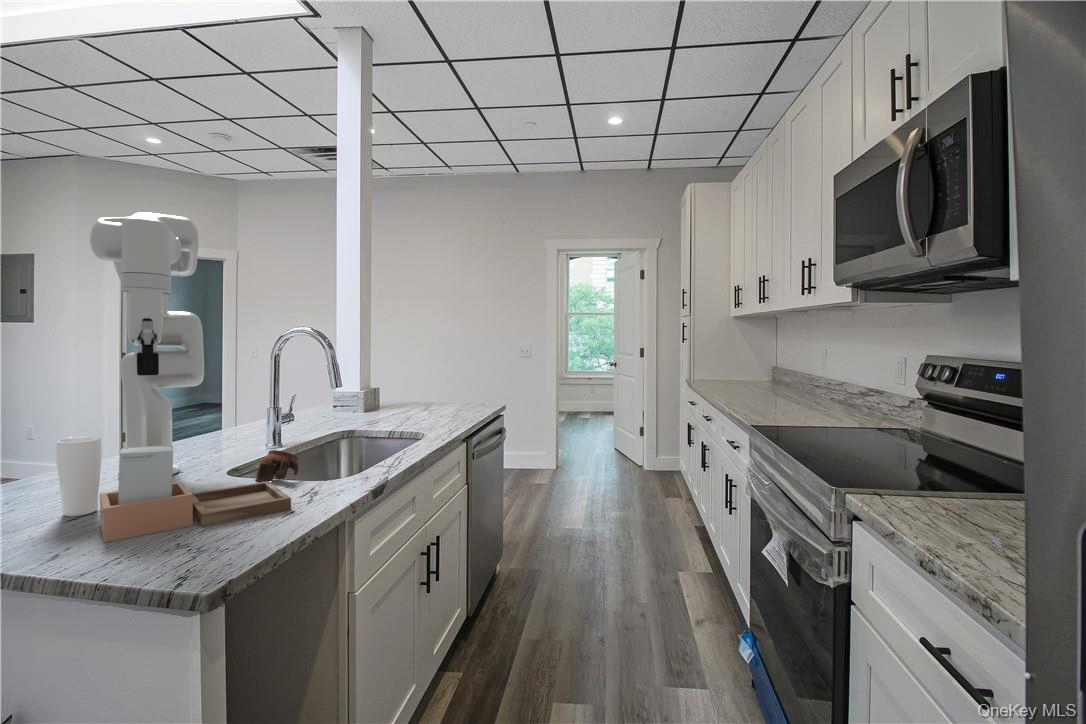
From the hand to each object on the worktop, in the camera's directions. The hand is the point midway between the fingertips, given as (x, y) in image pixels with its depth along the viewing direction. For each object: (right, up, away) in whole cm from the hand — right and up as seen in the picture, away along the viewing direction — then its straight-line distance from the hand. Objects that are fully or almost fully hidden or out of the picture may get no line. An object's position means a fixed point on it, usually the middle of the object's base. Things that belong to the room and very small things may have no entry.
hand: (148, 374), depth 99 cm
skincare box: (0, -29, -1) cm, 29 cm away
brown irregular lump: (+9, -28, +32) cm, 43 cm away
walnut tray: (+12, -29, +10) cm, 32 cm away
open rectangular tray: (0, -29, -1) cm, 29 cm away
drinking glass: (-17, -28, +5) cm, 34 cm away
